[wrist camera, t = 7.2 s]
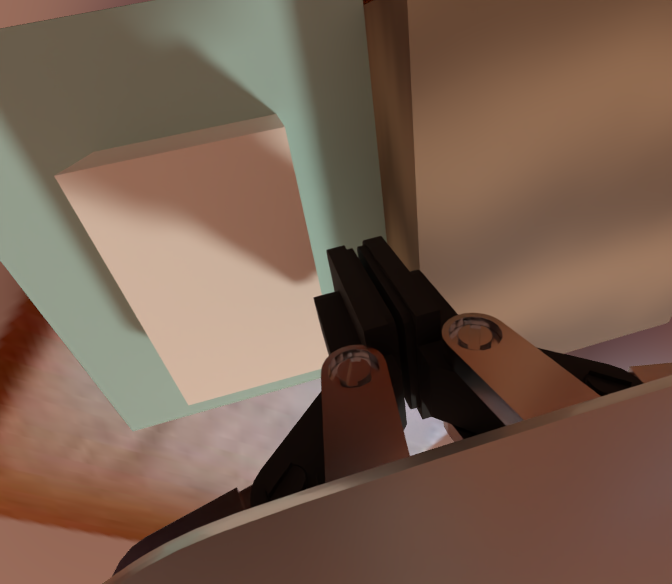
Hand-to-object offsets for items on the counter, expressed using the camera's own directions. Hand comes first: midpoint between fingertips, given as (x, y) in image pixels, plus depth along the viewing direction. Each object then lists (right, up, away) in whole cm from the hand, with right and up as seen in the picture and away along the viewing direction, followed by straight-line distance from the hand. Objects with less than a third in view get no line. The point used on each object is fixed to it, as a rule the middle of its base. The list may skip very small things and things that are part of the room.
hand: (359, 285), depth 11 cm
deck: (+7, +5, +5) cm, 10 cm away
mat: (-6, +1, +4) cm, 7 cm away
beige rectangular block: (-5, +1, +2) cm, 5 cm away
